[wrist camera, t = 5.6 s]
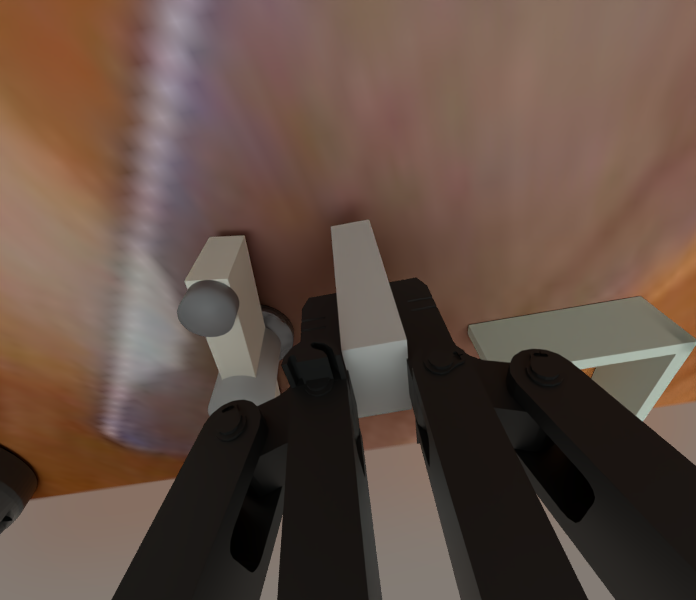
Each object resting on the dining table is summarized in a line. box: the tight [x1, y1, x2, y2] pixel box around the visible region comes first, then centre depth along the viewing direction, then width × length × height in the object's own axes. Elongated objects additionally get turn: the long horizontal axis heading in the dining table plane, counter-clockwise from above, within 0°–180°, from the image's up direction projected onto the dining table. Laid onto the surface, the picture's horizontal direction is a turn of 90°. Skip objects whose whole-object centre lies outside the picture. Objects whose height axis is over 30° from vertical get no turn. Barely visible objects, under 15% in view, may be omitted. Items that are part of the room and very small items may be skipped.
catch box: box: [468, 296, 696, 421], centre depth 23 cm, size 11×11×4 cm
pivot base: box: [260, 305, 294, 361], centre depth 20 cm, size 4×4×1 cm
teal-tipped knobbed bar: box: [177, 235, 281, 416], centre depth 19 cm, size 3×17×5 cm, turn 1°
